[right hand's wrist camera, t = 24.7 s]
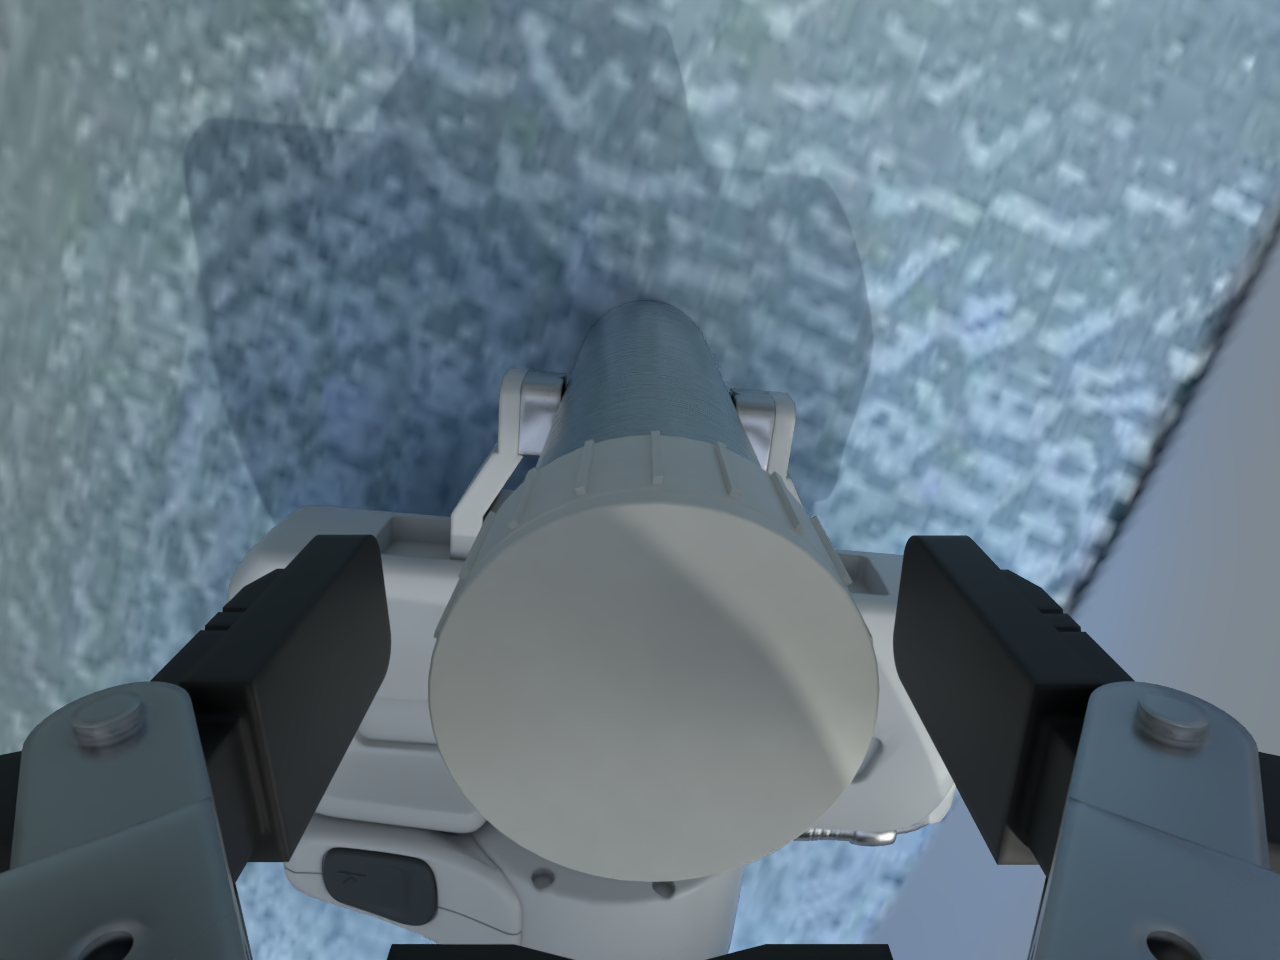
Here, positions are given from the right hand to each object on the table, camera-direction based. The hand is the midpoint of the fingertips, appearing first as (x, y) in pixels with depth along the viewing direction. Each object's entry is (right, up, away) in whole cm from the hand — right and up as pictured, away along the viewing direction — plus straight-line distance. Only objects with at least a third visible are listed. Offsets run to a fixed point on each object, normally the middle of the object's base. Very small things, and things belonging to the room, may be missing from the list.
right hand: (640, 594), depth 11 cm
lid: (0, -1, -2) cm, 2 cm away
